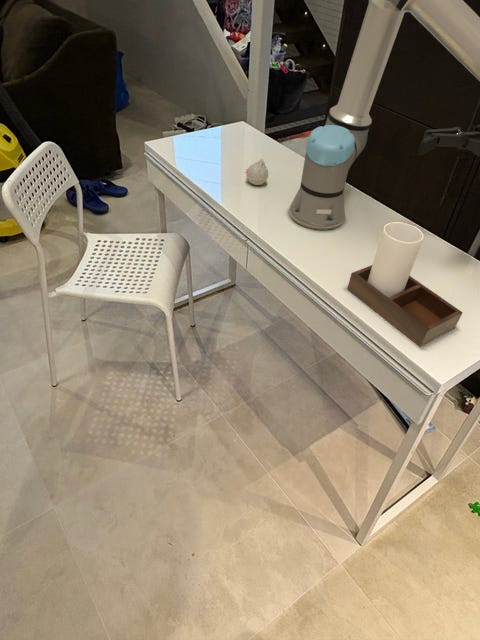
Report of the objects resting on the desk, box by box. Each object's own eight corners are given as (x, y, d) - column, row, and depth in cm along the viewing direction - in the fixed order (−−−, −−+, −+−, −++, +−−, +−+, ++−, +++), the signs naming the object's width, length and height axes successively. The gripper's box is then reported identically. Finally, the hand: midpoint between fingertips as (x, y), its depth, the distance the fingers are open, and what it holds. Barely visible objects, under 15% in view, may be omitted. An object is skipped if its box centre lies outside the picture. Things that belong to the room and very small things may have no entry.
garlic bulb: (246, 177, 153) (248, 152, 147) (268, 180, 152) (271, 155, 147) (243, 186, 148) (245, 161, 142) (265, 190, 147) (268, 164, 142)
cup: (395, 308, 108) (418, 247, 97) (360, 295, 111) (378, 234, 100) (405, 289, 113) (428, 229, 103) (371, 277, 116) (390, 217, 106)
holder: (381, 274, 119) (386, 259, 116) (455, 328, 106) (462, 312, 103) (346, 289, 113) (351, 273, 110) (420, 347, 100) (427, 330, 97)
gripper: (539, 172, 108) (501, 201, 96) (436, 135, 120) (392, 156, 108) (556, 138, 103) (519, 164, 91) (447, 103, 115) (402, 122, 103)
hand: (450, 160), depth 100 cm, fingers open, 13 cm apart
